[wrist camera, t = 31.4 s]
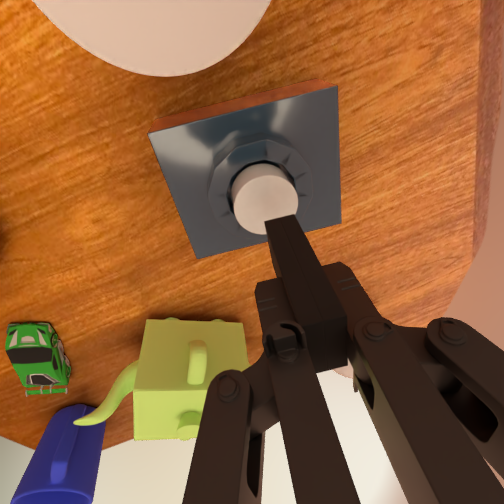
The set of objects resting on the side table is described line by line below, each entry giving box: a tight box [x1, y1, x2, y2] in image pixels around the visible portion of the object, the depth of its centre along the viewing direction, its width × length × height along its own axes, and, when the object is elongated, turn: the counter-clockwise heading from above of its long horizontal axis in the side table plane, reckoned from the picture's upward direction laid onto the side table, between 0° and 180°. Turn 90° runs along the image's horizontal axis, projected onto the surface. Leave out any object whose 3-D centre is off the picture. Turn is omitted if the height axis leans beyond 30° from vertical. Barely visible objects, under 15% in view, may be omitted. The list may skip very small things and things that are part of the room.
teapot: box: [73, 317, 252, 441], centre depth 31 cm, size 15×13×11 cm
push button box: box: [147, 79, 341, 259], centre depth 22 cm, size 12×10×6 cm
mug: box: [10, 404, 106, 504], centre depth 37 cm, size 8×12×10 cm
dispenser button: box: [231, 163, 298, 234], centre depth 19 cm, size 4×4×2 cm
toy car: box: [5, 322, 71, 397], centre depth 33 cm, size 10×5×2 cm, turn 174°
